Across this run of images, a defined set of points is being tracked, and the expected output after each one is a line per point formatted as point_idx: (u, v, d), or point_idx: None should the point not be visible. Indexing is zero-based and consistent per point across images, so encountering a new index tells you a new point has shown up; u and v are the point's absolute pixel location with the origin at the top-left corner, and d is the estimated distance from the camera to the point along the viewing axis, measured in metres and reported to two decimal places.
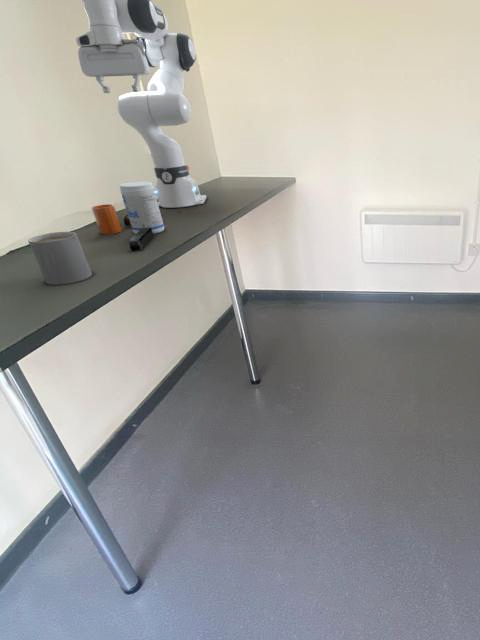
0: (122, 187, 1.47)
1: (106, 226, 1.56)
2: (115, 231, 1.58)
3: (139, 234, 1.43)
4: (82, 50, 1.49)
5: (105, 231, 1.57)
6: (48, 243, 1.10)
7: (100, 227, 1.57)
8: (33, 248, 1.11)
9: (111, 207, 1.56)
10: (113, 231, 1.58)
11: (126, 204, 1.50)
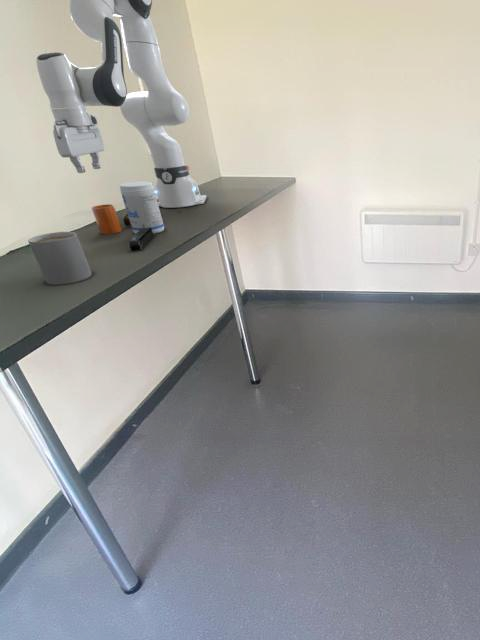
0: (122, 187, 1.47)
1: (106, 226, 1.56)
2: (115, 231, 1.58)
3: (139, 234, 1.43)
4: None
5: (105, 231, 1.57)
6: (48, 243, 1.10)
7: (100, 227, 1.57)
8: (33, 248, 1.11)
9: (111, 207, 1.56)
10: (113, 231, 1.58)
11: (126, 204, 1.50)
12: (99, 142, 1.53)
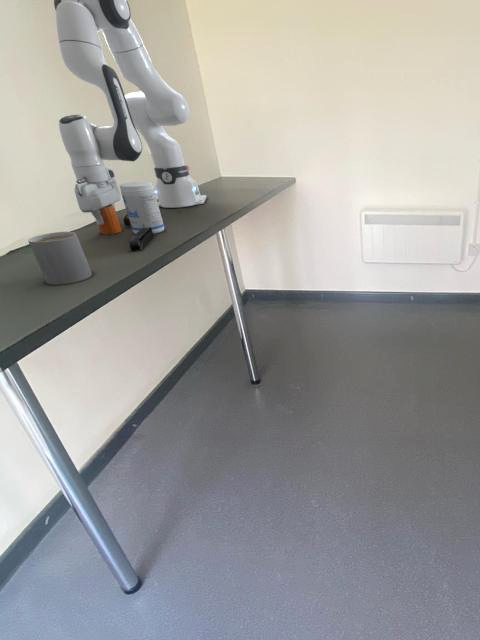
0: (122, 187, 1.47)
1: (106, 226, 1.56)
2: (115, 231, 1.58)
3: (139, 234, 1.43)
4: None
5: (105, 231, 1.57)
6: (48, 243, 1.10)
7: (100, 227, 1.57)
8: (33, 248, 1.11)
9: (111, 207, 1.56)
10: (113, 231, 1.58)
11: (126, 204, 1.50)
12: (116, 192, 1.61)
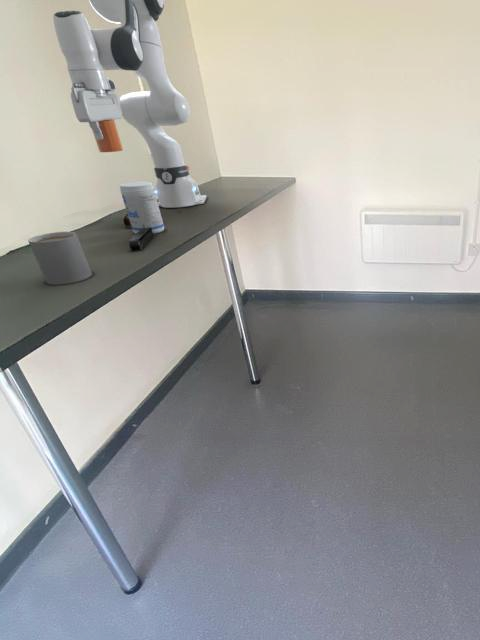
0: (122, 187, 1.47)
1: (106, 143, 1.42)
2: (115, 149, 1.44)
3: (139, 234, 1.43)
4: None
5: (104, 149, 1.42)
6: (48, 243, 1.10)
7: (99, 144, 1.42)
8: (33, 248, 1.11)
9: (111, 121, 1.41)
10: (113, 149, 1.43)
11: (126, 204, 1.50)
12: (117, 109, 1.47)
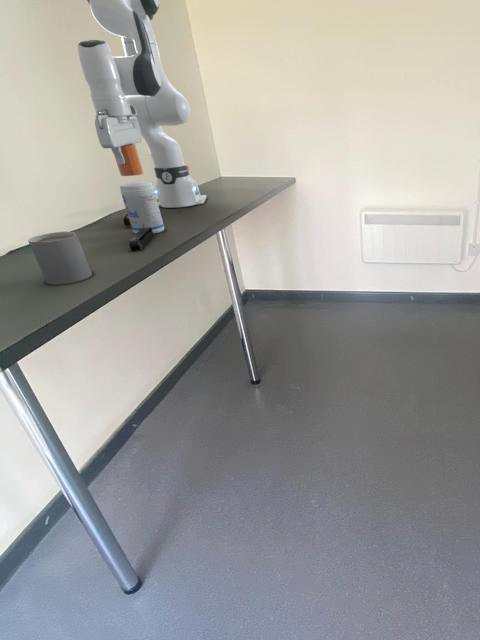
0: (122, 187, 1.47)
1: (127, 167, 1.45)
2: (136, 173, 1.47)
3: (139, 234, 1.43)
4: None
5: (126, 172, 1.45)
6: (48, 243, 1.10)
7: (120, 168, 1.45)
8: (33, 248, 1.11)
9: (133, 146, 1.44)
10: (134, 173, 1.46)
11: (126, 204, 1.50)
12: (137, 133, 1.49)
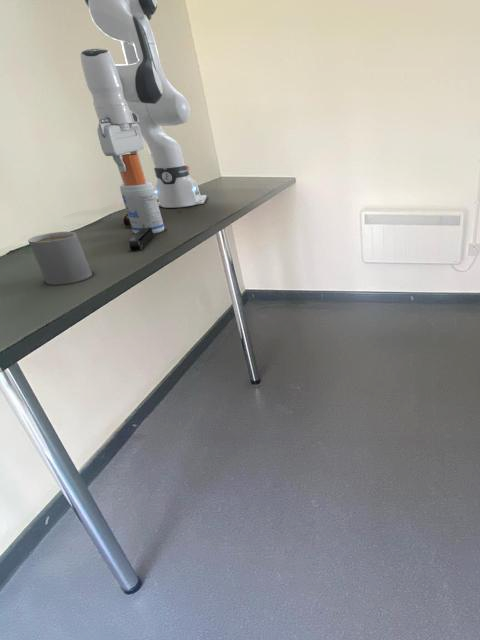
0: (122, 187, 1.47)
1: (130, 176, 1.46)
2: (139, 182, 1.48)
3: (139, 234, 1.43)
4: None
5: (129, 182, 1.47)
6: (48, 243, 1.10)
7: (123, 178, 1.46)
8: (33, 248, 1.11)
9: (135, 156, 1.45)
10: (137, 182, 1.48)
11: (126, 204, 1.50)
12: (139, 140, 1.50)
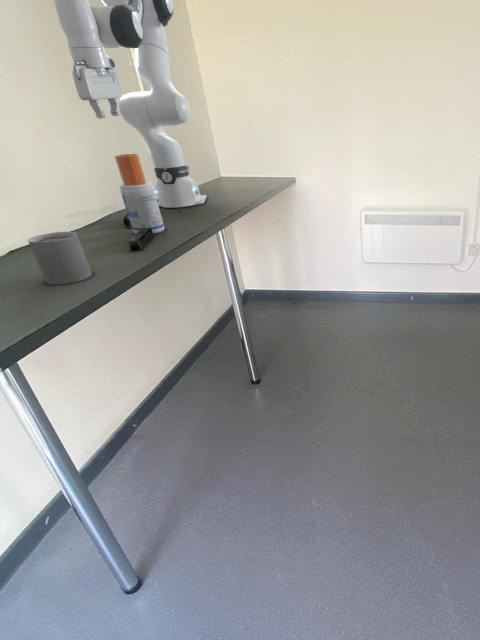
0: (122, 187, 1.47)
1: (130, 176, 1.46)
2: (139, 182, 1.48)
3: (139, 234, 1.43)
4: None
5: (129, 182, 1.47)
6: (48, 243, 1.10)
7: (123, 178, 1.46)
8: (33, 248, 1.11)
9: (135, 156, 1.45)
10: (137, 182, 1.48)
11: (126, 204, 1.50)
12: (117, 87, 1.48)
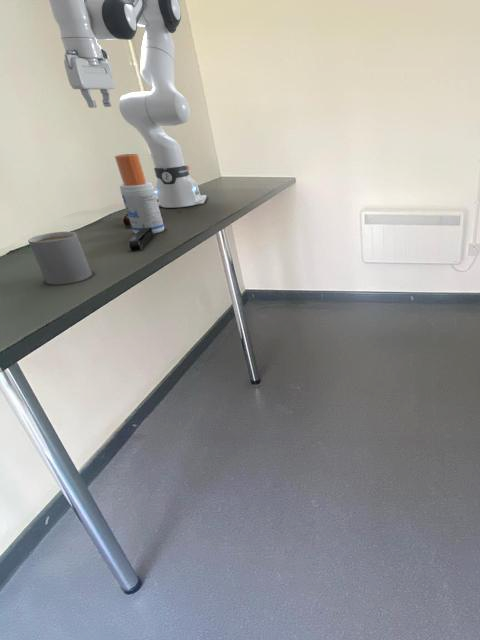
0: (122, 187, 1.47)
1: (130, 176, 1.46)
2: (139, 182, 1.48)
3: (139, 234, 1.43)
4: None
5: (129, 182, 1.47)
6: (48, 243, 1.10)
7: (123, 178, 1.46)
8: (33, 248, 1.11)
9: (135, 156, 1.45)
10: (137, 182, 1.48)
11: (126, 204, 1.50)
12: (110, 79, 1.50)
